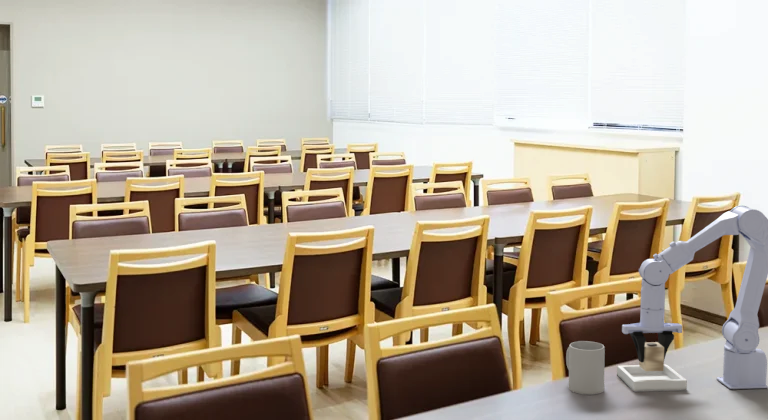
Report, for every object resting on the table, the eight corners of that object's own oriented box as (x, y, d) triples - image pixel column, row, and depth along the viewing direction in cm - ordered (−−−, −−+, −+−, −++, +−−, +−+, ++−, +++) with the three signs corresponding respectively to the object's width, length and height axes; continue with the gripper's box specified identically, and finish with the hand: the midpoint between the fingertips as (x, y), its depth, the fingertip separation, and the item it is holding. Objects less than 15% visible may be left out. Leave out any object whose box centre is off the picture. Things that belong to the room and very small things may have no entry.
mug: (611, 391, 203) (612, 347, 202) (582, 396, 200) (583, 352, 199) (580, 377, 214) (581, 336, 213) (553, 382, 211) (553, 340, 210)
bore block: (656, 365, 211) (657, 341, 211) (663, 370, 207) (664, 346, 206) (639, 365, 211) (639, 341, 210) (645, 371, 207) (646, 347, 206)
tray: (666, 373, 216) (666, 364, 216) (686, 390, 204) (686, 380, 203) (616, 375, 216) (617, 365, 216) (633, 391, 203) (634, 381, 203)
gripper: (675, 303, 212) (673, 355, 213) (618, 304, 211) (617, 356, 213) (686, 309, 205) (684, 363, 206) (627, 311, 204) (626, 365, 206)
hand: (651, 360), depth 209 cm, fingers closed on bore block, 4 cm apart
